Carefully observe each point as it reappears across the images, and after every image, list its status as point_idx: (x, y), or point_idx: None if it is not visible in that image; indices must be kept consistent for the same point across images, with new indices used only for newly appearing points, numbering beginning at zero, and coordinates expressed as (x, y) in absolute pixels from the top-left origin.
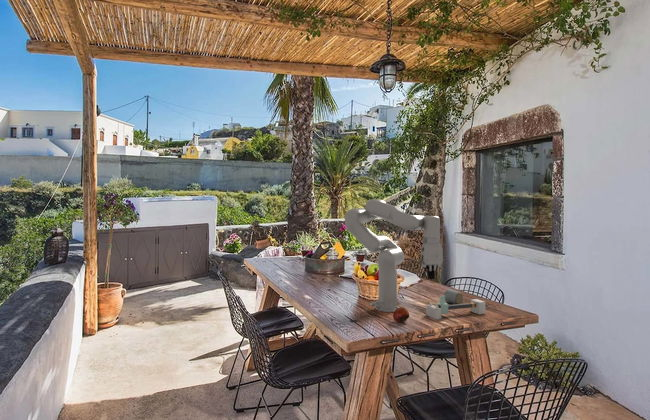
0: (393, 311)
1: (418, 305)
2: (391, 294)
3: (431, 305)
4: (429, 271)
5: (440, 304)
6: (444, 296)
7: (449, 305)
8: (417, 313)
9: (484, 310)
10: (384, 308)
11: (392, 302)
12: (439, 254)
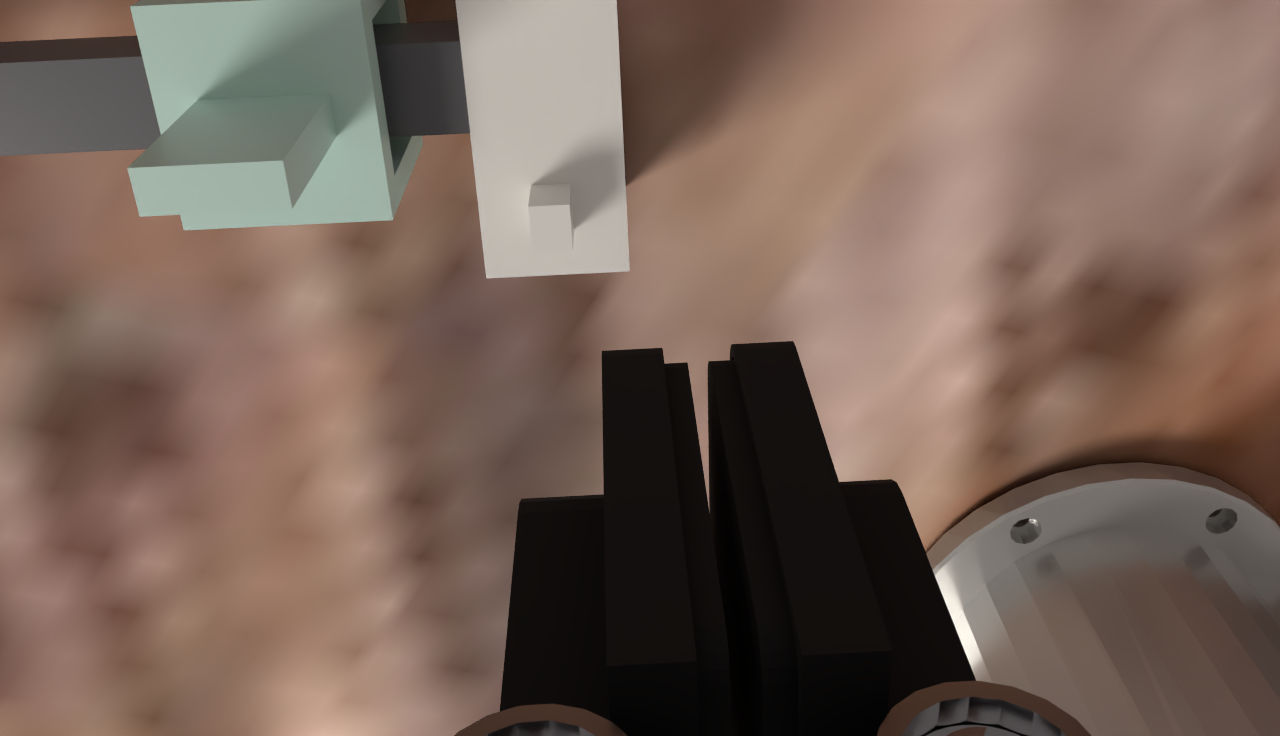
0: (1123, 467)
1: (438, 704)
2: (1275, 732)
3: (546, 186)
4: (990, 723)
5: (368, 43)
6: (153, 160)
7: (61, 109)
8: (733, 313)
9: None
10: (1242, 571)
11: (1171, 609)
12: None
